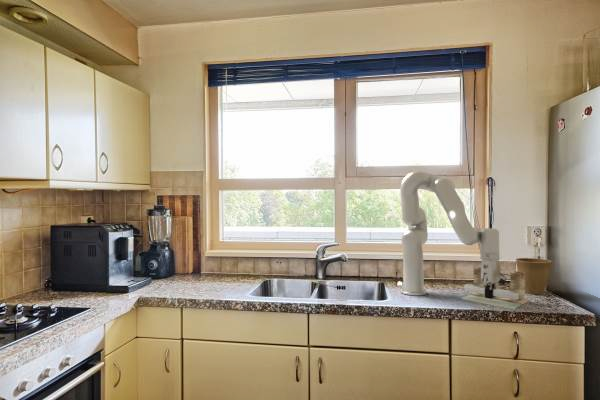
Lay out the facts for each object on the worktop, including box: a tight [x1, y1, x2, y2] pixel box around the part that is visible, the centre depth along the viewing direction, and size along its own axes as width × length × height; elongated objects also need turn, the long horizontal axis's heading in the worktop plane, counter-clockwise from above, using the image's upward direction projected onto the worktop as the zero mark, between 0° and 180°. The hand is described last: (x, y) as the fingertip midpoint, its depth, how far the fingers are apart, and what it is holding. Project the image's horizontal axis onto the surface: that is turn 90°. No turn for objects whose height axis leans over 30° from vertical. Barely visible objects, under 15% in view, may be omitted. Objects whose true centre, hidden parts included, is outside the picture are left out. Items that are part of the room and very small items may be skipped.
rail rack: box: [470, 266, 529, 305], centre depth 173 cm, size 22×8×13 cm, turn 42°
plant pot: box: [515, 257, 552, 295], centre depth 182 cm, size 15×15×16 cm
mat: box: [461, 294, 521, 310], centre depth 166 cm, size 22×8×1 cm, turn 42°
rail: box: [463, 283, 519, 300], centre depth 166 cm, size 22×3×3 cm, turn 42°
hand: (490, 297), depth 166 cm, fingers closed on rail, 2 cm apart
